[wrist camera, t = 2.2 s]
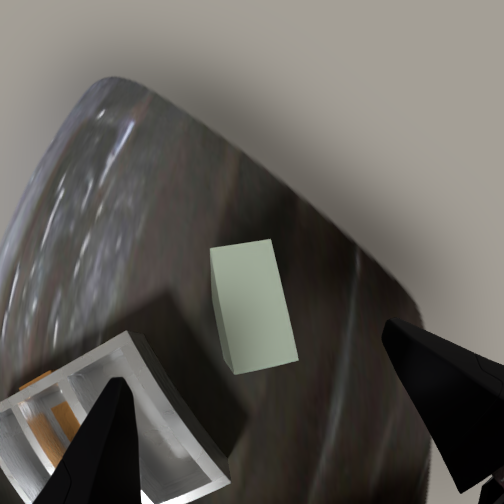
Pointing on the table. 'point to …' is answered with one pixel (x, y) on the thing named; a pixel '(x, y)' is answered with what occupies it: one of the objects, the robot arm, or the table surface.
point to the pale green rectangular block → (250, 307)
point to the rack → (147, 418)
